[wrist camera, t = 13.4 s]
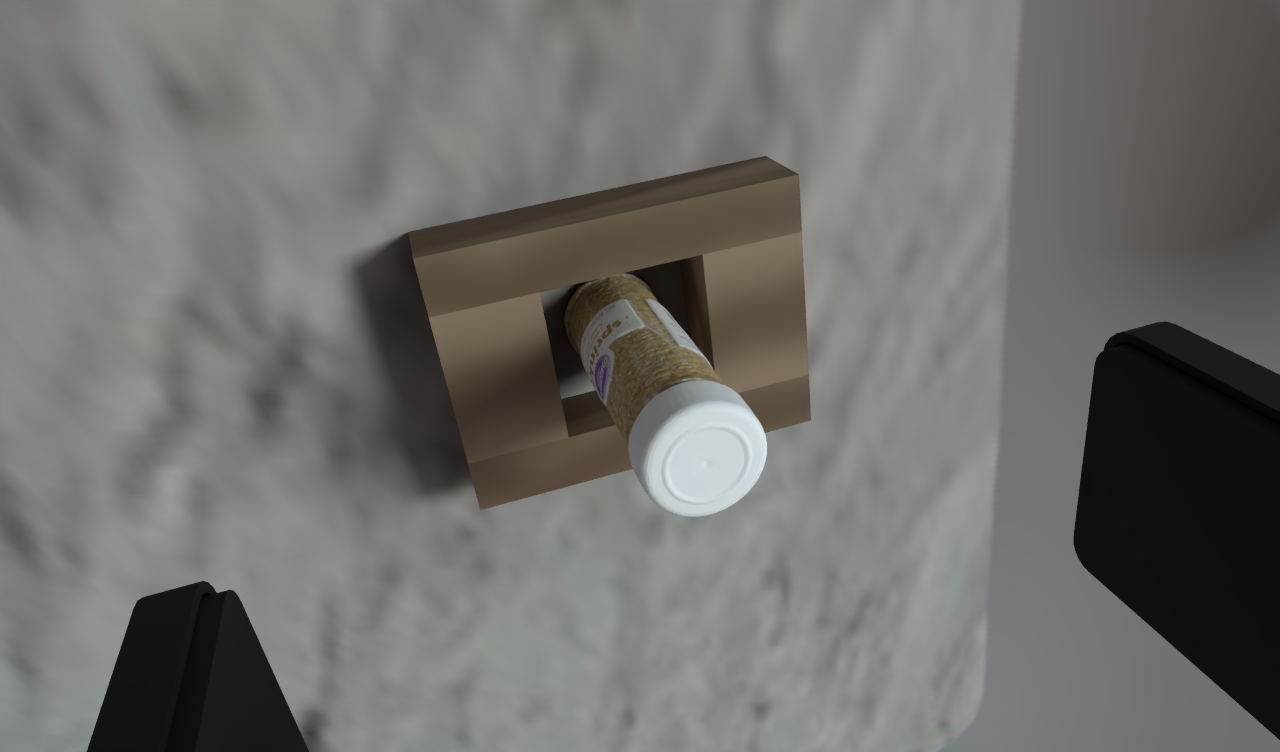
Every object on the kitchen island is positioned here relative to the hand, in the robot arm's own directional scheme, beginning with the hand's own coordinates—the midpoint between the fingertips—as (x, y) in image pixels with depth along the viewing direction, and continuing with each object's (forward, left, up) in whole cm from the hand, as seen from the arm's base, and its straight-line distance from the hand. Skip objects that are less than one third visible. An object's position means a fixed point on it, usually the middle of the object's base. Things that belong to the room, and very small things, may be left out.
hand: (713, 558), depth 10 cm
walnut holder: (+11, +5, -30) cm, 33 cm away
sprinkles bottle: (+11, +5, -31) cm, 33 cm away
